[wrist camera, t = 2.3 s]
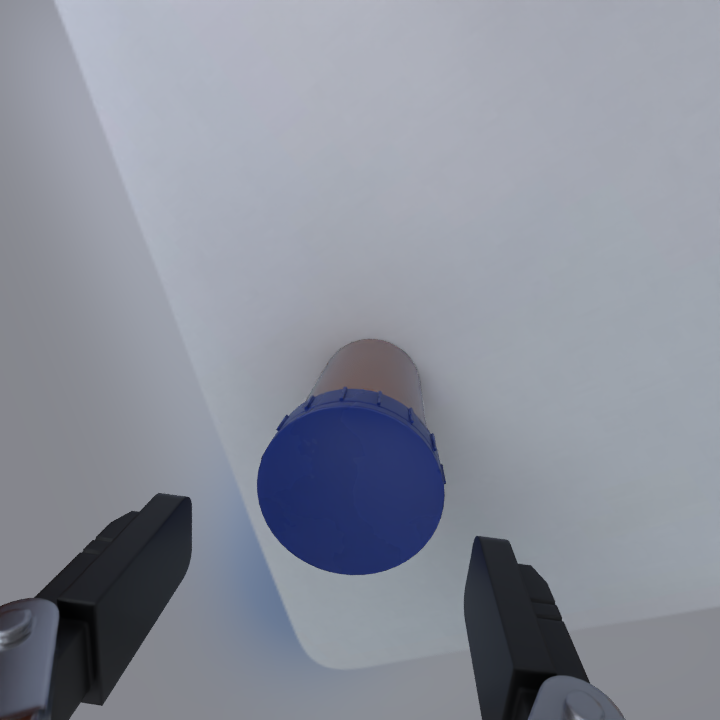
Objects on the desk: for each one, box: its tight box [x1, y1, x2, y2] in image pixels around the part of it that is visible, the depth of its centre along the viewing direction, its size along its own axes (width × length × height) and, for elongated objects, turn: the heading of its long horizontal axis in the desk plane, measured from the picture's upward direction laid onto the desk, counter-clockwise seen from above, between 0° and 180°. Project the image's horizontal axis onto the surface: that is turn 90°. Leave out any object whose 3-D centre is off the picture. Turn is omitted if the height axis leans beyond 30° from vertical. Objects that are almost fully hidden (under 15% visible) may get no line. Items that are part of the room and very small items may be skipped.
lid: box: [257, 387, 446, 575], centre depth 15 cm, size 6×6×2 cm
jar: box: [305, 339, 426, 426], centre depth 19 cm, size 5×5×10 cm
